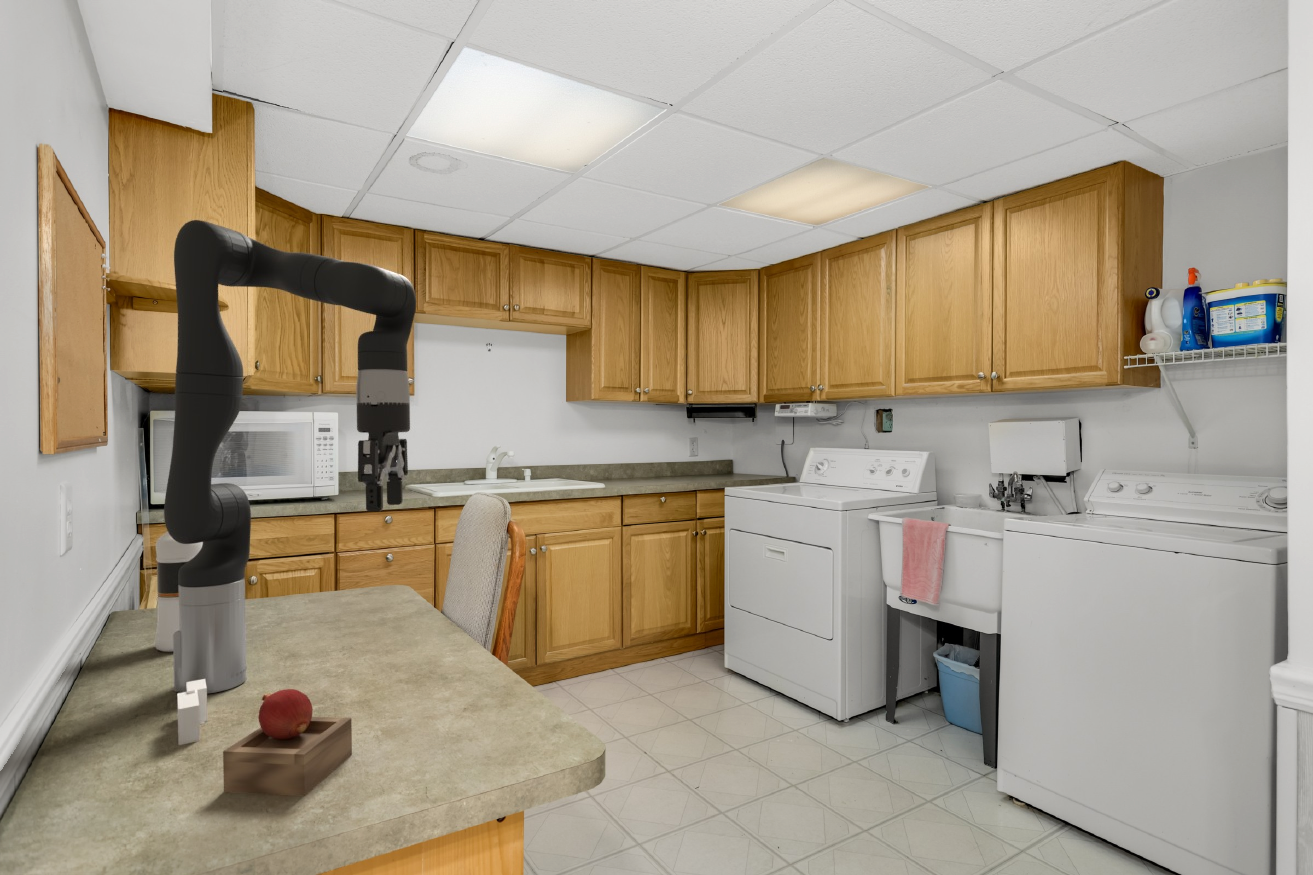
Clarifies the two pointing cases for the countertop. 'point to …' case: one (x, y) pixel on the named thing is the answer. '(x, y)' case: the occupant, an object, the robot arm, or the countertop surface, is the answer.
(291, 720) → the onion
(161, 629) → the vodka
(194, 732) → the white notched block
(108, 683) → the countertop surface
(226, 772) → the wooden box
